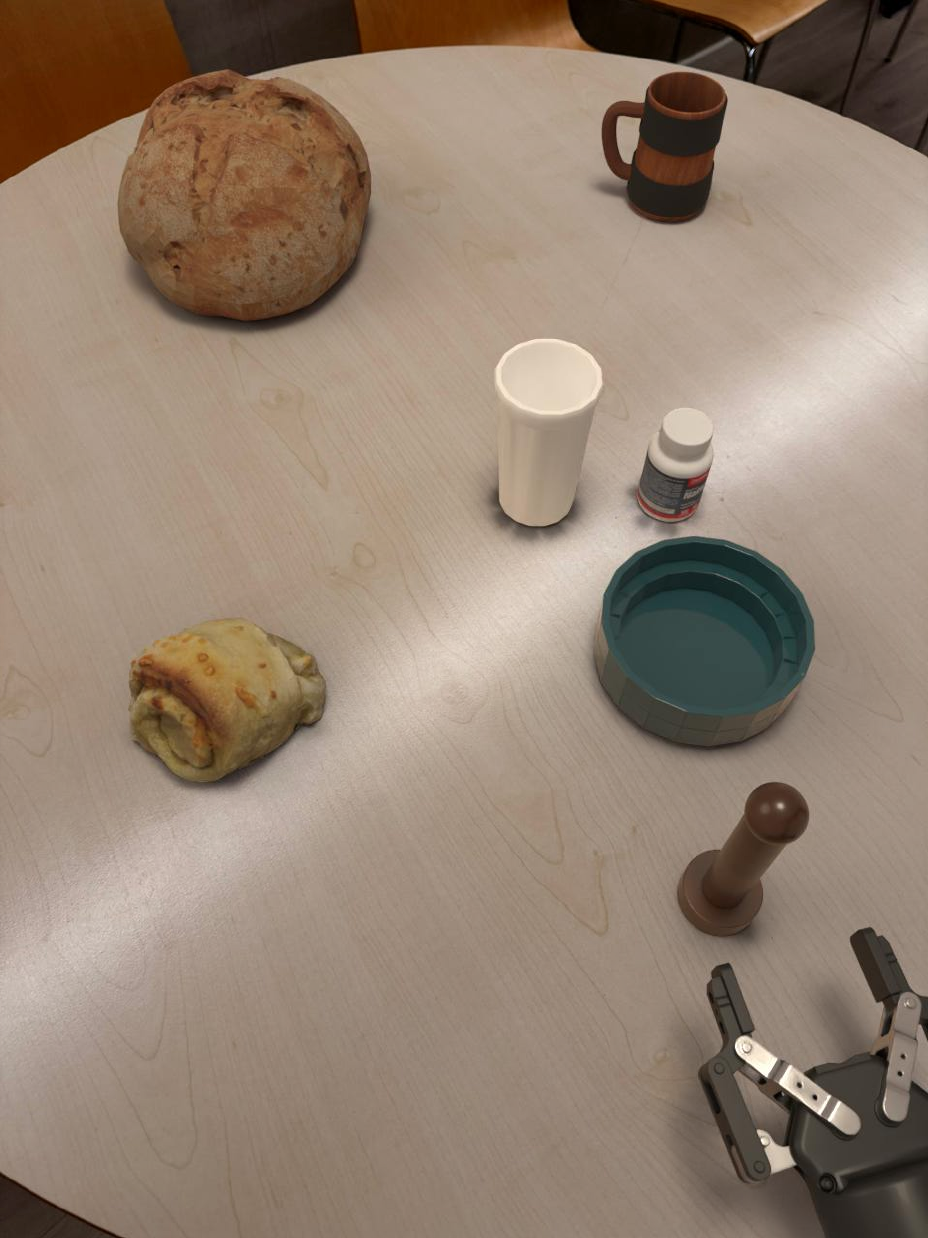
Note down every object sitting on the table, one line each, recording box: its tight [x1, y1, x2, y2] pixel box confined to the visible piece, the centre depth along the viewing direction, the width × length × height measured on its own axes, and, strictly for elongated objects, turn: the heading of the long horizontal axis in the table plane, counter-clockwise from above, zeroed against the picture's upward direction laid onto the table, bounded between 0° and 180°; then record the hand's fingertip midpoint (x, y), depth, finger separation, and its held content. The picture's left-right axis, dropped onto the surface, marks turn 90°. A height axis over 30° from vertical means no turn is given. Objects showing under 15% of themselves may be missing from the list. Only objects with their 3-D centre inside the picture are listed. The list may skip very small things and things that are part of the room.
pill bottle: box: [636, 407, 715, 523], centre depth 83 cm, size 5×5×9 cm
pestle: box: [677, 781, 810, 937], centre depth 62 cm, size 5×5×17 cm
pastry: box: [128, 617, 327, 783], centre depth 72 cm, size 14×12×8 cm
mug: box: [601, 71, 729, 223], centre depth 104 cm, size 9×12×12 cm
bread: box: [117, 68, 372, 322], centre depth 98 cm, size 26×23×15 cm
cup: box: [493, 338, 605, 527], centre depth 81 cm, size 8×8×14 cm
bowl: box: [593, 535, 816, 747], centre depth 76 cm, size 15×15×6 cm
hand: (789, 949), depth 58 cm, fingers open, 8 cm apart
